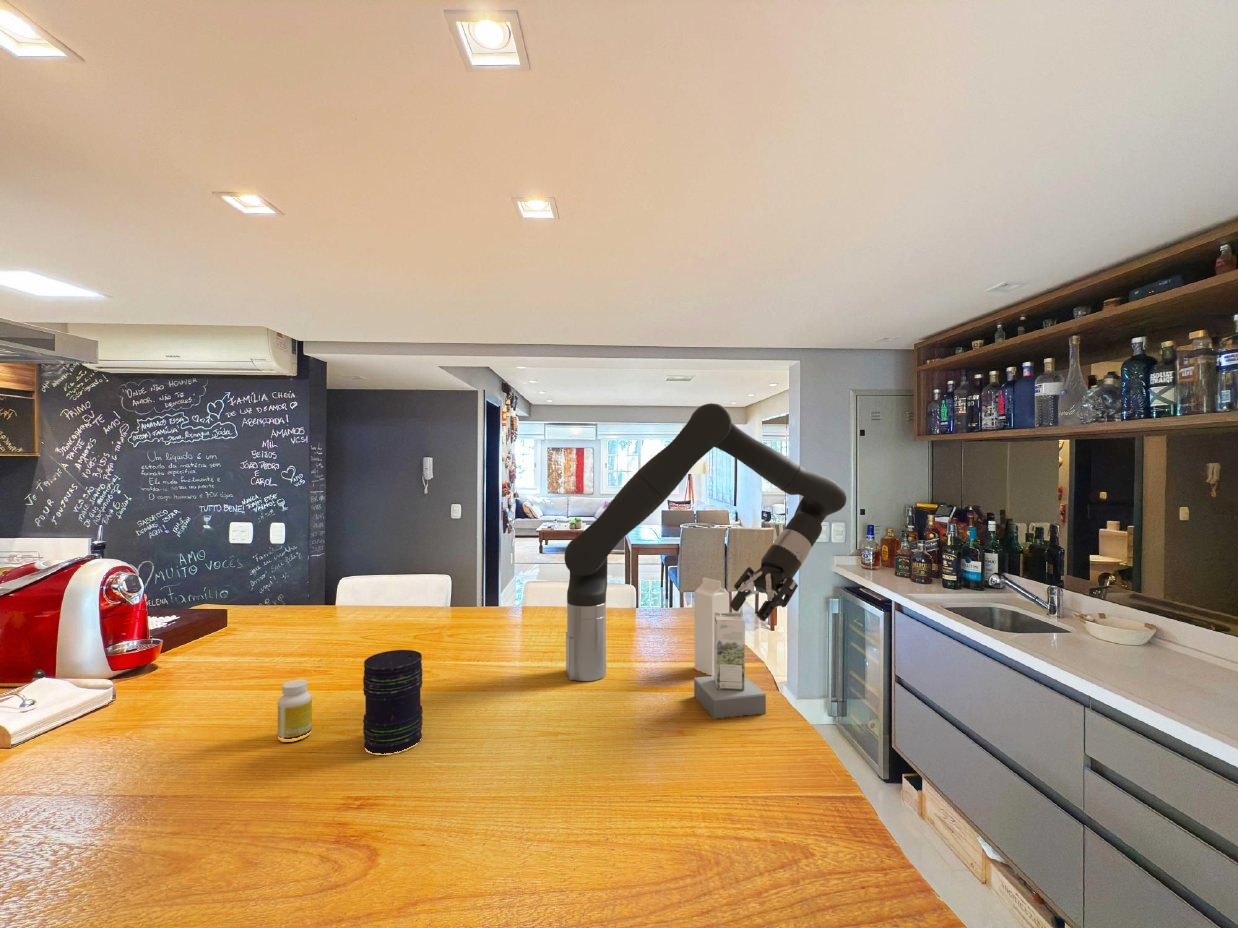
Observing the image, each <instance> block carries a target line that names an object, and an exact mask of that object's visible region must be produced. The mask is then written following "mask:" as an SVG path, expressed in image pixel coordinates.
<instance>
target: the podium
mask: <svg viewBox="0 0 1238 928" xmlns="http://www.w3.org/2000/svg"><path fill="white" fill-rule="evenodd" d="M693 680H694V681H693V687H694V689H693V690H694V691H693V692H694V694H693V695H694V698H695V699H696V700H697V702H699V704H701V706H702V707H703V708H704V710H705V711H706V710H707V711H706V712H707V713H708V714H709V716H710V717H711V718H712V717H713V718H714V719H713V718H712V719H713V720H718V719H717V718H721V719H725V718H724V717H730V718H736V717H735V716H739V717H744V716H743V715H748V716H755V715H756V714H758V715H766V714H767V713H766V712H767V709H766V708H767V705H766V703H767V702H766V699H767V697H766V692H765V691H763V690H762V689H761V688H760V687H759V686H758V685H756V684H755V683H754V682H753V681H751V680H750V679H749V678H748V677H746V676H745V690H722V689H717V687H716V682H715V678H714V676H710V675H707V676H699V677H698V676H697V677H694V678H693Z"/></svg>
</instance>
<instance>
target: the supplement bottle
mask: <svg viewBox="0 0 1238 928" xmlns="http://www.w3.org/2000/svg"><path fill="white" fill-rule="evenodd" d="M281 690H282V694H283V695H281V697H279V698H278V701H277V737H278V736H279V737H280V738H283V739H292V738H298V737H300V736H303V735H306V734H307V733H309V732H310V731H311V730H312V729H313V726H312V725H313V724H312V723H313V722H312V721H313V719H312V716H313V715H312V713H313V710H312V708H313V707H312V704H313V703H312V702H313V699H312V698H313V697H312V693H311V692H310V691H307V690H308V680H306V679H294V680H290V681H286V682H285V683H283V684H282V689H281Z"/></svg>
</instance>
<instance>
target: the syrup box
mask: <svg viewBox="0 0 1238 928" xmlns="http://www.w3.org/2000/svg"><path fill="white" fill-rule="evenodd" d="M745 648H746V620H745V619H744V616H743V614H742V613H741V612H729V613H715V614H714V678H715V682H716V687H717V689H722V690H745V677H746V674H745V673H746V665H745V663H746V662H745V659H746V658H745V657H746V654H745V653H746V649H745Z"/></svg>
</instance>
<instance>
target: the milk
mask: <svg viewBox="0 0 1238 928" xmlns="http://www.w3.org/2000/svg"><path fill="white" fill-rule="evenodd" d="M693 595H694V597H693V598H694V607H693V608H694V609H693V611H694V612H693V613H694V616H693V618H694V623H693V624H694V625H693V626H694V670H696V671H698V672H700V671H701V673H703V674H705V673H706V674H705V675H707V676H710V675H711V676H713V675H714V614H715V613H730V593H729V591H727V590H726V589H724V588H723V587H722V583H721V581H720V580H717V579H713V578H708V577H702V583H701V585H699V586H698V587H697V588H696V590H695V591H694V593H693Z"/></svg>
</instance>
